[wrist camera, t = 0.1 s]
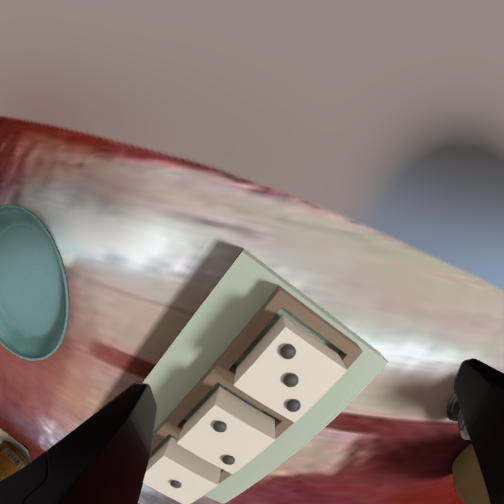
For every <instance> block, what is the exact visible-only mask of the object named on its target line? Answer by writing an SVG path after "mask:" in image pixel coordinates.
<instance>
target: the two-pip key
mask: <svg viewBox="0 0 504 504" xmlns="http://www.w3.org/2000/svg"><path fill="white" fill-rule="evenodd" d="M275 440H276V438H275V420H274V419H272V418H271V417H269V416H267V415H266V414H264V413H262V412H260V411H259V410H257V409H255V408H254V407H252V406H251V405H249V404H247V403H246V402H244V401H242V400H241V399H239V398H238V397H236V396H235V395H233V394H231V393H230V392H228V391H227V390H225V389H224V388H222V387H221V386H220V387H219V388H218V389H217V390H216V391H215V392H214V393H213V394H212V395H211V396H210V397H209V398H208V399H207V401H206V402H205V403H204V404H203V405H202V406H201V407H200V408H199V409H198V410H197V411H196V412H195V413H194V414H193V415H192V416H191V417H190V418H189V419H188V421H187V422H186V423H185V424H184V425H183V428H182V431H181V433H180V436H179V438H178V441H177V444H179V445H180V446H182V447H183V448H185V449H187V450H189V451H190V452H192V453H194V454H195V455H197V456H199V457H201V458H202V459H204V460H206V461H208V462H210V463H212V464H213V465H215V466H217V467H219V468H221V469H223V470H225V471H227V472H229V473H231V474H234V473H236V472H237V471H238V470H239V469H241V468H242V467H243V466H245V465H246V464H247V463H248V462H250V461H251V460H252V459H254V458H255V457H256V456H257V455H258V454H260V453H261V452H262V451H263V450H265V449H266V448H267V447H268V446H269V445H270V444H272V443H273V442H274V441H275Z"/></svg>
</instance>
